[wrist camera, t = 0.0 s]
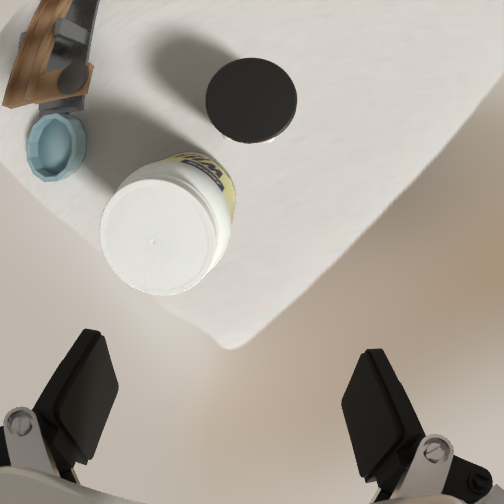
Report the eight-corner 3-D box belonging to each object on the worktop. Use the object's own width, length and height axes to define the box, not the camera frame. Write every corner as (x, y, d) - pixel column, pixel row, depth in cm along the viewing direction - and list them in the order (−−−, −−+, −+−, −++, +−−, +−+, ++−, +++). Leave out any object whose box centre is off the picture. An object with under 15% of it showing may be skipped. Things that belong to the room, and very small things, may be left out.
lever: (56, -12, 21) (47, -21, 18) (133, -34, 22) (127, -47, 18) (10, 112, 24) (-5, 107, 21) (89, 95, 24) (75, 85, 21)
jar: (206, 94, 33) (187, 78, 22) (264, 67, 32) (270, 40, 21) (236, 153, 37) (231, 163, 25) (294, 127, 35) (314, 126, 24)
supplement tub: (243, 158, 37) (239, 177, 21) (229, 245, 41) (218, 315, 26) (152, 147, 36) (90, 161, 20) (145, 232, 41) (93, 292, 25)
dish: (38, 118, 33) (27, 119, 30) (87, 110, 33) (76, 110, 30) (39, 178, 37) (28, 182, 34) (86, 176, 37) (76, 180, 34)
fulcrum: (62, -9, 24) (36, -23, 16) (105, -22, 24) (82, -42, 17) (41, 117, 33) (8, 119, 25) (83, 110, 33) (51, 109, 26)
